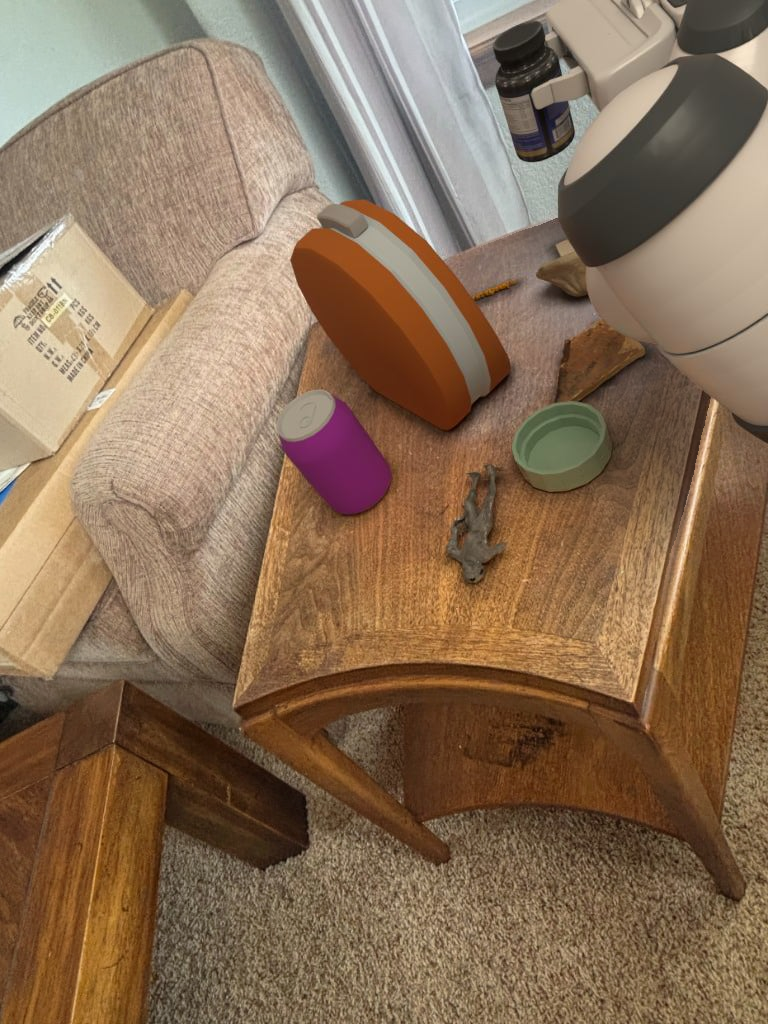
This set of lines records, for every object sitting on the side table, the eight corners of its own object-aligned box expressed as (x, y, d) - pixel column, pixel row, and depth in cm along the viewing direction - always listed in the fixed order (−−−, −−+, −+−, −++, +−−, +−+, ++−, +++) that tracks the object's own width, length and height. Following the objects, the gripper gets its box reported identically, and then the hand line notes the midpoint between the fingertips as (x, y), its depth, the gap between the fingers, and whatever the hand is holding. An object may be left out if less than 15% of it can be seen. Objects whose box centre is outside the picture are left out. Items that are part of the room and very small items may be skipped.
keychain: (453, 303, 89) (456, 311, 89) (451, 302, 88) (454, 310, 88) (515, 277, 86) (518, 285, 86) (514, 276, 85) (517, 285, 86)
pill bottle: (565, 121, 77) (540, 8, 69) (584, 144, 72) (559, 27, 65) (510, 148, 78) (478, 41, 70) (525, 172, 74) (493, 61, 66)
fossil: (639, 224, 73) (543, 256, 74) (652, 267, 74) (556, 298, 74) (612, 249, 82) (527, 278, 83) (624, 287, 82) (538, 315, 83)
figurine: (505, 449, 66) (479, 554, 59) (529, 475, 68) (507, 581, 61) (453, 469, 71) (423, 569, 64) (477, 493, 72) (450, 594, 65)
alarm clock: (537, 380, 75) (456, 185, 59) (471, 446, 74) (369, 264, 58) (411, 325, 91) (320, 159, 75) (354, 379, 89) (249, 221, 74)
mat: (605, 224, 85) (604, 221, 85) (620, 250, 81) (620, 247, 81) (556, 247, 87) (555, 244, 87) (568, 273, 83) (567, 271, 83)
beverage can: (394, 507, 74) (337, 430, 65) (328, 526, 76) (265, 454, 68) (395, 452, 78) (342, 373, 70) (333, 472, 81) (274, 398, 73)
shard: (556, 422, 71) (551, 410, 69) (515, 386, 76) (510, 374, 75) (649, 356, 70) (646, 343, 69) (601, 325, 76) (597, 312, 74)
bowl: (598, 410, 69) (590, 388, 67) (624, 473, 64) (617, 451, 62) (514, 443, 72) (504, 423, 69) (532, 507, 66) (522, 487, 64)
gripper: (628, -54, 72) (494, 16, 75) (706, 9, 58) (538, 91, 62) (639, 14, 76) (511, 77, 80) (713, 87, 63) (556, 160, 66)
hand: (523, 84), depth 70 cm, fingers closed on pill bottle, 6 cm apart
